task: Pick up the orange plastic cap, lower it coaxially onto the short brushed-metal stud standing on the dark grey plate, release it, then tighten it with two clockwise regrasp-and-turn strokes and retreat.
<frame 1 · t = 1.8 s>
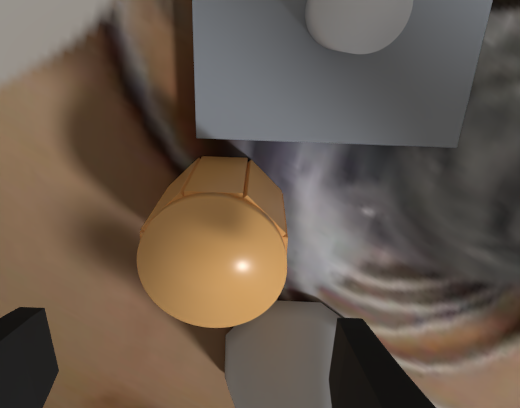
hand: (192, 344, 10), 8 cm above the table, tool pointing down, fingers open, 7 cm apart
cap: (224, 211, 17), on the table
stud block: (335, 13, 14), on the table
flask: (290, 348, 20), on the table
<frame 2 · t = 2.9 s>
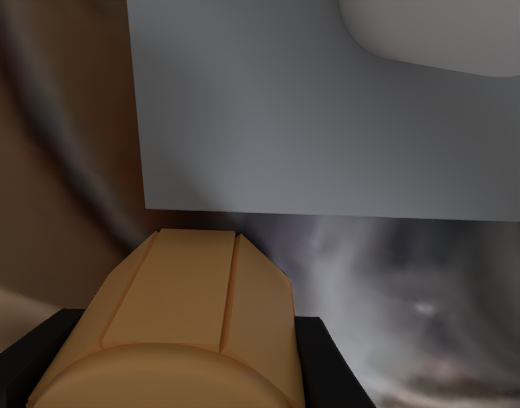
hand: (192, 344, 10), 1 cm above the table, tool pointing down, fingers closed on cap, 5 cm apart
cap: (200, 308, 11), on the table, touching gripper
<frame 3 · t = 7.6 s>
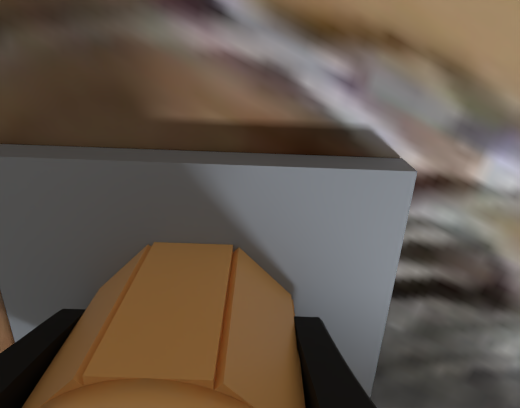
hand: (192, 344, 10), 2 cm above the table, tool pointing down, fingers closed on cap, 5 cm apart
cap: (196, 325, 10), point 1 cm above the table, touching gripper
stud block: (202, 301, 11), on the table
when the fingers open (2 cm above the table, at t = 11.8 s): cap stays where it is, resting on stud block.
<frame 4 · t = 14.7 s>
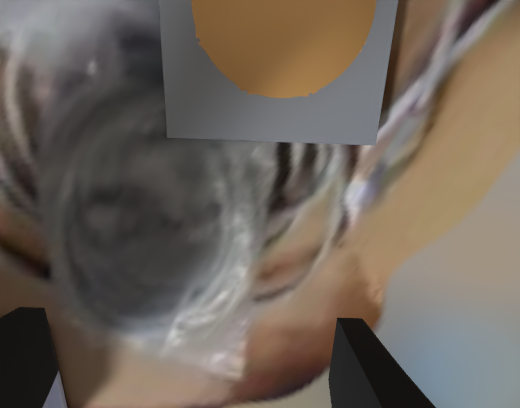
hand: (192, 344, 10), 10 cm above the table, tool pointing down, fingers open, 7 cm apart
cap: (277, 13, 15), point 1 cm above the table, touching stud block
stud block: (276, 13, 16), on the table
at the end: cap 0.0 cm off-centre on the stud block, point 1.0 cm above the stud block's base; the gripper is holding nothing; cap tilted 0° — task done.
